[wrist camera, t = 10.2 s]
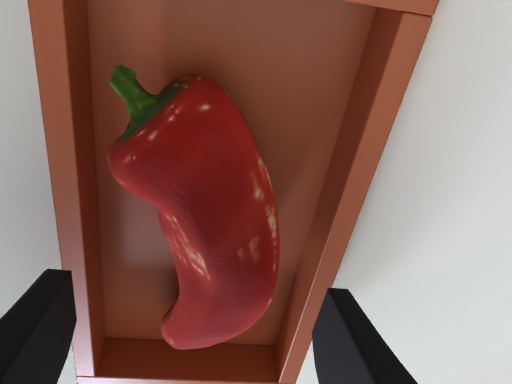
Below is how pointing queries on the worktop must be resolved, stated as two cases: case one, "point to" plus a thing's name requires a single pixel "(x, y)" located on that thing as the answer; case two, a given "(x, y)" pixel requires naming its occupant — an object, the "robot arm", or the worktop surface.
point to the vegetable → (201, 203)
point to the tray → (265, 134)
